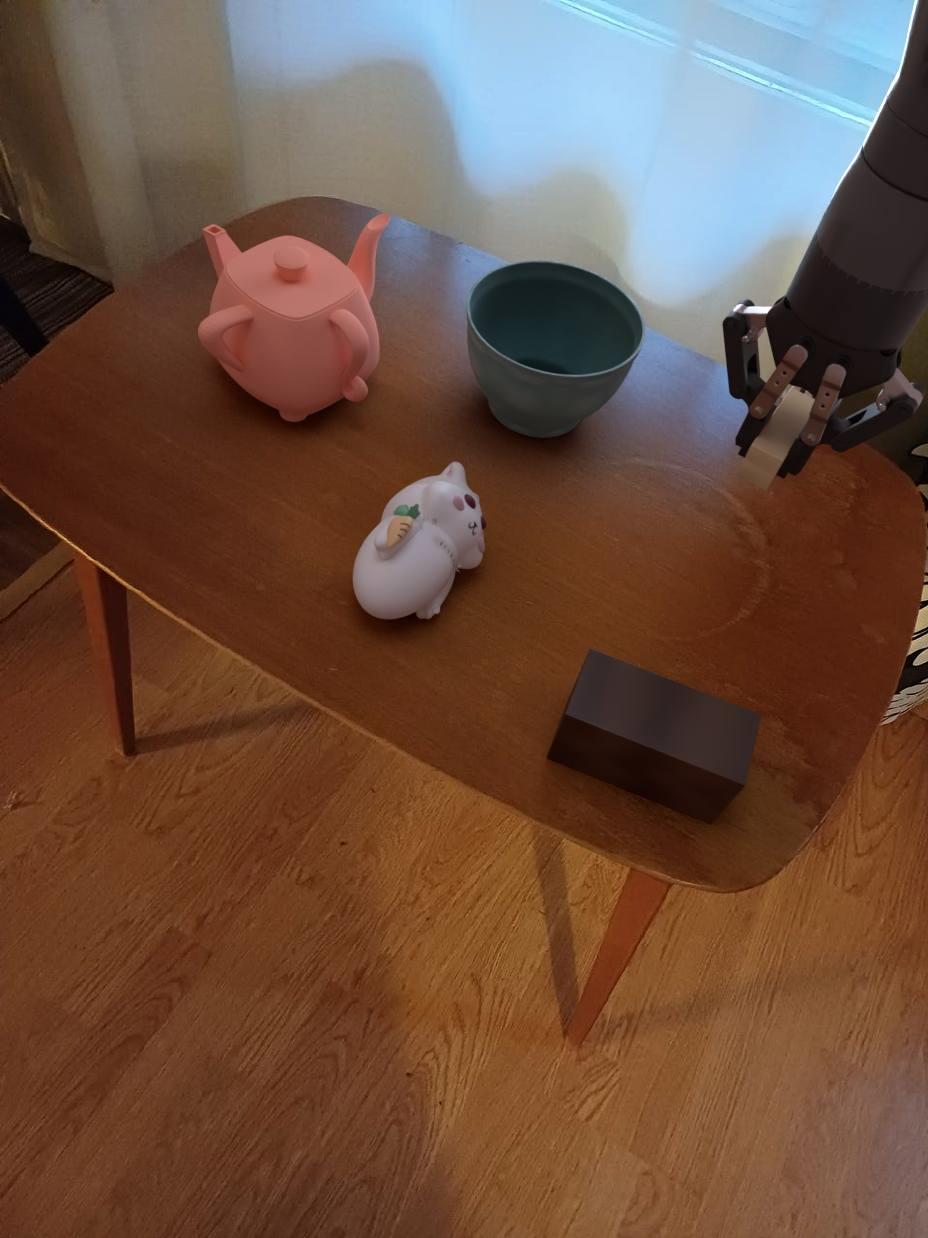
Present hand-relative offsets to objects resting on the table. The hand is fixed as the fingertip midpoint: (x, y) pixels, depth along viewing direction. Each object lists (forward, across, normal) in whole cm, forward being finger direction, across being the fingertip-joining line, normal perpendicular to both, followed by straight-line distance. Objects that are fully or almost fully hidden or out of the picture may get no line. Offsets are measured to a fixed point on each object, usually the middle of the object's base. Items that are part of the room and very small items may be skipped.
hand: (766, 459), depth 66 cm
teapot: (+17, -44, 0) cm, 47 cm away
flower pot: (+17, -23, +12) cm, 31 cm away
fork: (+1, 0, +4) cm, 4 cm away
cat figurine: (+17, -20, -12) cm, 29 cm away
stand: (+17, +4, -16) cm, 24 cm away
